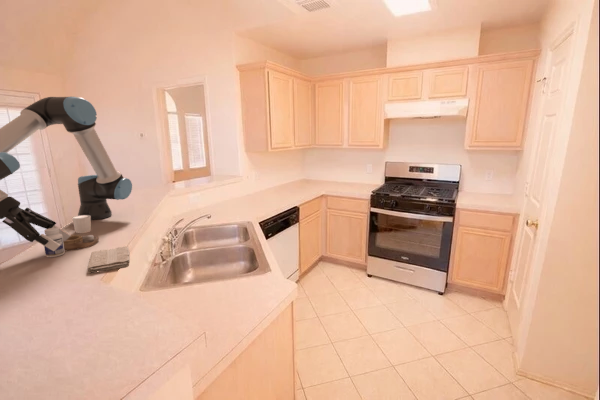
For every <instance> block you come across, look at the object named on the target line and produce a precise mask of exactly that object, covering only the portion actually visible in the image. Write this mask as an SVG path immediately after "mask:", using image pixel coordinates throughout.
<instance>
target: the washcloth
mask: <svg viewBox="0 0 600 400" xmlns="http://www.w3.org/2000/svg"><path fill="white" fill-rule="evenodd" d="M130 257H131V255H130V250H129V246H125V245H124V246H118V247H115V248H110V249H101V250H95V251H92V252H91V254H90V258H89V262H88V264H87V270H88V272H89V273H90V274H92V273H91V272H97V271H104V272H108V271H115V270H120V269H125V268H128V267H129V266H130V260H131V259H130ZM89 273H88V274H89Z"/></svg>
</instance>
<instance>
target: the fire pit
mask: <svg viewBox="0 0 600 400" xmlns="http://www.w3.org/2000/svg"><path fill="white" fill-rule="evenodd" d="M70 235H71V234H70ZM63 242H64V249H65V251H74V250H81V249H85V248H89V247H90V248H91V247H92V246H94V245H97V244H98V243H99V237H98V236H94V235H93V234H89V235H88V234H87V235H79V234H72V235H71V236H70V237H69V238H68V239H67V240H66V241H64V240H63Z"/></svg>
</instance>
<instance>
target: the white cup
mask: <svg viewBox="0 0 600 400" xmlns="http://www.w3.org/2000/svg"><path fill="white" fill-rule="evenodd" d="M71 219H72V224H73V228H74V231H75V233H76V234H86V233H89V232H91V231H92V229H91V228H92V227H91V226H92V223H91V221H92V220H91V216H90V215H80V216H78V215H75V216H73V217H72V218H71Z"/></svg>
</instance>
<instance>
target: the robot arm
mask: <svg viewBox="0 0 600 400" xmlns="http://www.w3.org/2000/svg"><path fill="white" fill-rule="evenodd" d="M96 121H97V111H96V109H95V107H94V105H93V103H91V102H90V101H89V100H88V99H85V98H83V97H80V96H79V97H78V96H47V97H44V98H41V99H39V100H37V101H35V102H33V103H31V104H30V105H28V106H27V107H25V108H23V109H21V111H20V115H18V116H16V117H15V118H13V119H12V120H11V121H9V122H8V123H6V124H5V125H3V126H2V127H0V181H1V180H3V179H5V178H7V177H9V176H11V175H13V174H14V173H15V172H16V171H18V170H19V169H20V168H21V164H20V162H19V161H18V159H17V158H16V157H15V156H13V154H11V153H9V152H10V151H12V150H13V149H14V148H15V147H17V146H18V145H20V144H21V143H22V142H24V141H25V140H26V139H28V138H29V137H31V136H32V135H33V134H34V133H36V132H37V131H39V130H45V129H46V128H48V127H50V126H53V125H63V127H64V129H65V130H66V132H68V133H70V134H72V135H73V136H74V138H75V140H76V141H77V143H78V146H79V147H80V148H81V150H82V152H83V153H84V155H85V157H86V158H87V161H88V162H89V164H90V166H91V167H92V169H93V171H94V172H95V174H91V175H82V176H78V178H77V187H78V194H79V202H80V205H79V209H78V212H77V216H80V215H90V216H91V221H92V220H93V221H94V220H95V221H96V220H100V219H101V220H102V219H106V218H109V217H112V216H111V215H113V212H112V210H111V207H110V206H109V203H108V201H107V200H116V201H119V200H125V199H127V198H129V196H131V194H132V190H133V183H132V180H130V178H127V177H124V176H123V174H122V173H121V171H119V170H117V169H116V168H115V166H114V164H113V162H112V160H111V158H110V156H109V154H108V153H107V151H106V150H107V149H106V148H105V146H104V145H103V143H102V141H101V138H100V137H99V135H98V133H97V131H96V129H95V127H96V125H97V123H96ZM20 205H21V202H20V201H19V200H17V199H15V198H14V197H12V196H9V194H8V193H6V192H5V191H3V190H1V189H0V220H2V223H3V224H5V225H7V226H9V228H11V229H12V230H14V231H15V232H17V234H18V235H20V236H22V238H24V239H25V240H27V241H29V242H30V243H33V242H37V243H39V245H40V244H41V245H42V246H43V247H44V246H46V247H47V248H49V249H51V250H52V251H55V250H56V249H57V248H58V247H59V246H60V244H58V243H57V242H55V241H54V240H52V239H50V238H49V237H47V236H45V235H46V234H45V233H41V234H40V232H38V231H37V229H36V228H35V227H34V226H37V227H39V228H43V229H44V230H46V229H49V228H59V233H60V234H62V236H63V240H64V241H66V240H67V239H68V238H69V237H70V236H71V234H70V233H68V232H66V231H65V230H63V229H61V228H60V227H58V226H57V222H56V221H55V220H52V219H50V218H48V217H46V216H45V215H42V214H40V213H38V212H36V211H34V210H32V209H31V208H30V207H26V208H25V209H23V208H21V207H20ZM32 224H33V225H32Z"/></svg>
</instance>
